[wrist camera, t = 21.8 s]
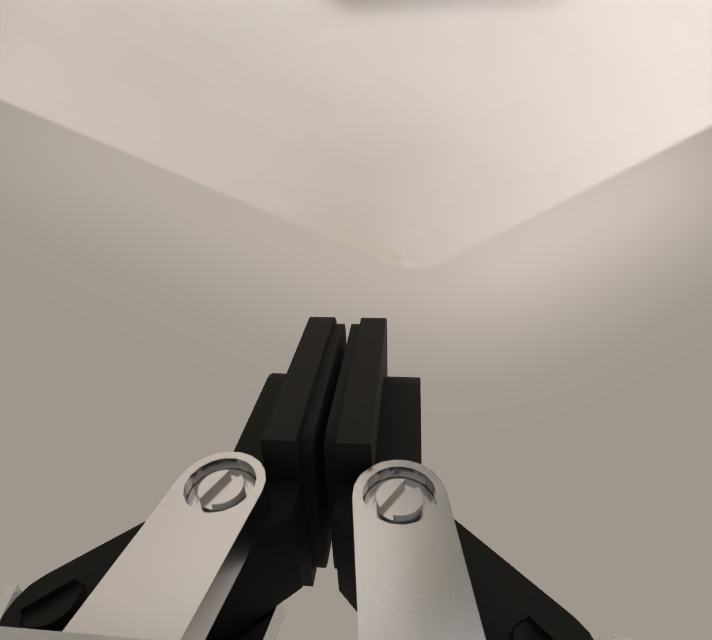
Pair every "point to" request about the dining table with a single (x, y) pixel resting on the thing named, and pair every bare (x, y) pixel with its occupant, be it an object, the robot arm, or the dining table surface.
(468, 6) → the dining table surface
